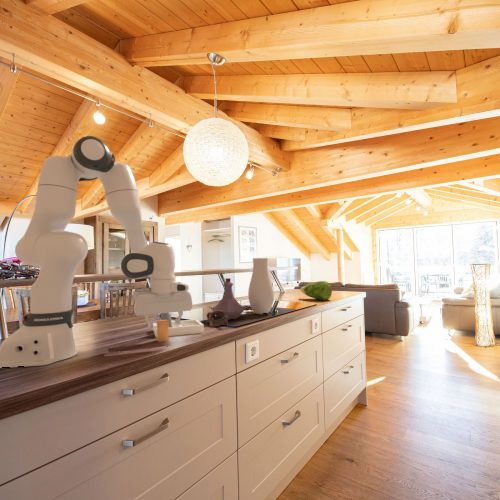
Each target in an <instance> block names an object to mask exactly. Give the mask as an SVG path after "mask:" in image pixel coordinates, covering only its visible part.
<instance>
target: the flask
mask: <svg viewBox="0 0 500 500" xmlns="http://www.w3.org/2000/svg"><path fill="white" fill-rule="evenodd" d="M222 285H223V286H224V288H223V289H224V290H223V294H222V298H221V299H220V300H219V302H218V303H217V304H216V305H215V307H213V309H212V312H213V311H216V310H221V311H224V312H225V313H226V315H227V316H228V318H226V319H227V321H231V320H230V319H234V320H237V319H239V318H240V316H241V315H242V313H244V311H245V310H246V309H245V308H244V307H243V306H242V305H241V304H240V303H239V302H238V301H237V299H236V298H235V296H234V291H233V285H234V283H233V282H231V278H230V277H229V278H228V277H227V278H225V282H224V283H223V284H222ZM236 318H237V319H236Z"/></svg>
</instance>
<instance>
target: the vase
mask: <svg viewBox="0 0 500 500" xmlns="http://www.w3.org/2000/svg"><path fill="white" fill-rule="evenodd" d="M252 263H253V264H252V266H253V267H252V272H251V273H252V274H251V279H250V282H249V285H248V286H249V287H248V295H247V297H248V302H249V305H250V308H251V310H252V311H253V313H254V314H256V315H264V314H263V313H267V314H268V313H270V311H271V308H272V306H273V303H274V300H275V299H274V298H275V294H274V293H275V291H274V287H273V282H272V280H271V276H270V272H269V266H268V265H269V262H268V257H256V258H255V257H254V258H252Z"/></svg>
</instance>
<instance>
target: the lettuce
mask: <svg viewBox="0 0 500 500" xmlns="http://www.w3.org/2000/svg"><path fill="white" fill-rule="evenodd" d="M332 289H333V288H332V286H331V284H330V282H329V281H326V280H320V281H315V282H310V283H307V284H306V285H304V286H302V287H300V292H301V293H302V294H304V295H306V296H307V297H310V298H312V299H315V300H318V299H320V301H328V300H329V299H330V298H331V296H332V293H333V291H332Z"/></svg>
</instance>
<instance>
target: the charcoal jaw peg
mask: <svg viewBox="0 0 500 500" xmlns="http://www.w3.org/2000/svg"><path fill="white" fill-rule="evenodd" d="M160 320H169V327H171V322H172V312H171V313H161V314H160Z"/></svg>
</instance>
